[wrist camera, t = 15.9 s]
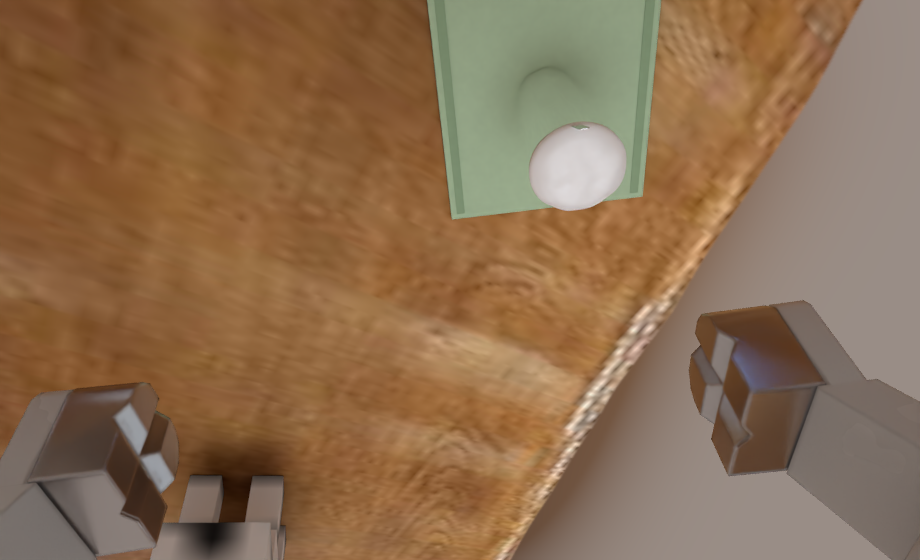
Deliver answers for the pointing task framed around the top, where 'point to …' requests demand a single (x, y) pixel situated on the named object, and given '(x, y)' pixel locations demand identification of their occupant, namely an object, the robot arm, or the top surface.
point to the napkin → (505, 69)
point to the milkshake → (567, 143)
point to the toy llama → (225, 524)
